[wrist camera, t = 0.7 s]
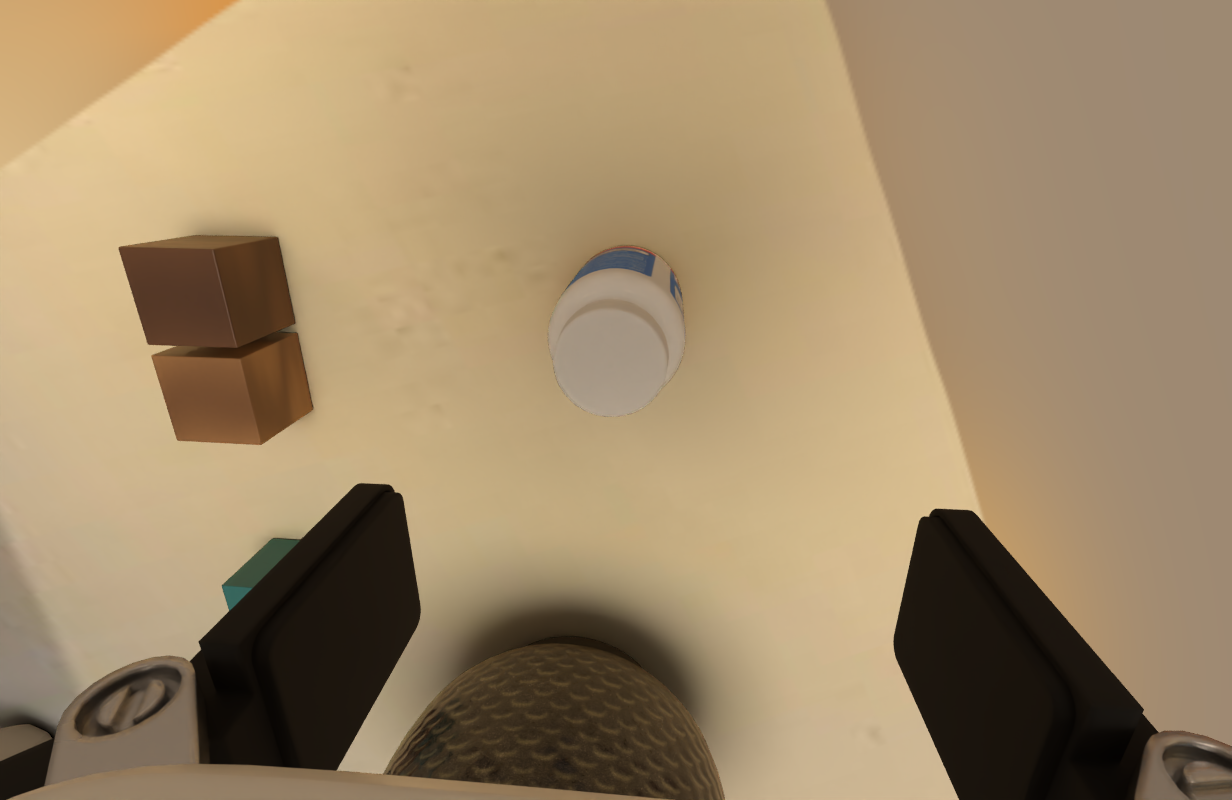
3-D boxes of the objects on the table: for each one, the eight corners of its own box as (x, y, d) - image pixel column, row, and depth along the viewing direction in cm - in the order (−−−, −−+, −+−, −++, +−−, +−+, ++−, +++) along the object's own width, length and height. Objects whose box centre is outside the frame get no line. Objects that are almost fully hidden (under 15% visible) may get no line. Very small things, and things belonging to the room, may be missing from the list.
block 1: (194, 235, 30) (117, 246, 26) (278, 236, 30) (212, 248, 25) (216, 321, 32) (147, 345, 27) (295, 323, 31) (237, 348, 27)
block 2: (218, 329, 32) (150, 355, 28) (297, 332, 31) (240, 358, 27) (238, 406, 34) (176, 440, 29) (313, 409, 33) (261, 445, 29)
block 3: (272, 538, 37) (221, 585, 33) (340, 542, 37) (297, 591, 32) (286, 595, 39) (240, 647, 34) (352, 600, 38) (312, 653, 34)
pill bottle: (552, 307, 30) (498, 371, 21) (618, 220, 28) (590, 249, 19) (636, 373, 30) (620, 462, 21) (705, 293, 29) (720, 354, 20)
